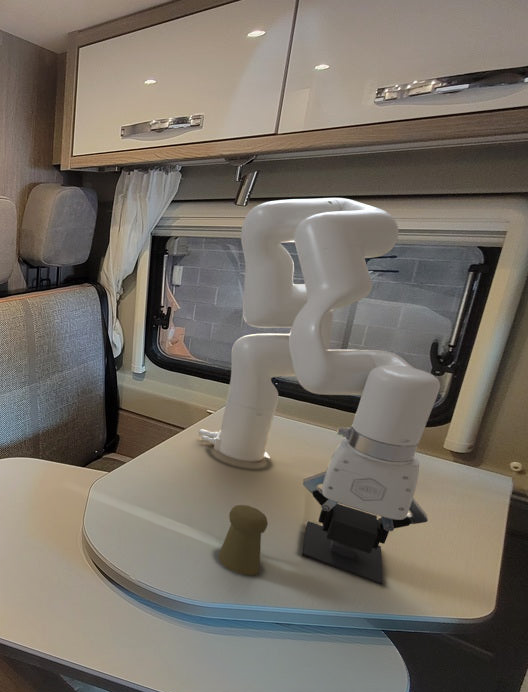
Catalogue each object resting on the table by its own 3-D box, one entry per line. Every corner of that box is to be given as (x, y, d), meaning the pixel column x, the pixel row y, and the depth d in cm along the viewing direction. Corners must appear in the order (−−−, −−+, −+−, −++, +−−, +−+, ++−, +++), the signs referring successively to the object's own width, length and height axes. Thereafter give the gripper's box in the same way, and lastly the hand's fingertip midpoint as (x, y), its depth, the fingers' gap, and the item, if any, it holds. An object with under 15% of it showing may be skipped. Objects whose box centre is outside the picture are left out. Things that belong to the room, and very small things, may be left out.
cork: (252, 557, 79) (265, 503, 76) (264, 582, 74) (278, 525, 71) (213, 550, 81) (223, 496, 78) (222, 574, 76) (233, 517, 73)
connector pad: (326, 538, 77) (332, 519, 76) (327, 520, 81) (333, 502, 79) (370, 554, 73) (377, 534, 72) (369, 534, 77) (376, 515, 76)
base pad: (301, 557, 79) (305, 546, 78) (306, 525, 85) (309, 514, 85) (380, 588, 72) (385, 576, 71) (379, 550, 79) (383, 539, 78)
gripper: (308, 436, 74) (283, 525, 80) (467, 475, 63) (423, 574, 69) (312, 418, 79) (288, 502, 85) (459, 451, 68) (418, 545, 74)
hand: (348, 534), depth 77 cm, fingers closed on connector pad, 5 cm apart
